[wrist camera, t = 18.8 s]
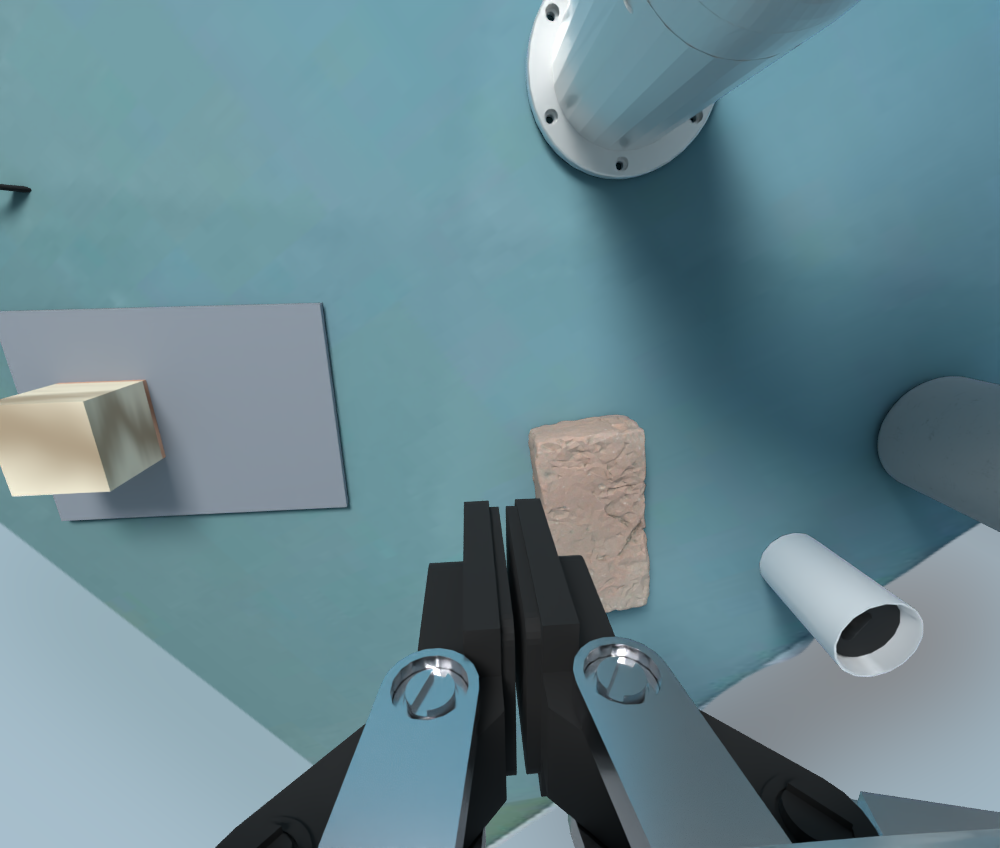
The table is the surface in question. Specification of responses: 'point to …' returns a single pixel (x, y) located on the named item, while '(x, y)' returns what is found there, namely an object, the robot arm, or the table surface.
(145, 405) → the cube
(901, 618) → the white cup
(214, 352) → the mat
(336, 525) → the table surface
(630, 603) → the brick
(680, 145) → the robot arm
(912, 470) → the water bottle
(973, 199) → the table surface
